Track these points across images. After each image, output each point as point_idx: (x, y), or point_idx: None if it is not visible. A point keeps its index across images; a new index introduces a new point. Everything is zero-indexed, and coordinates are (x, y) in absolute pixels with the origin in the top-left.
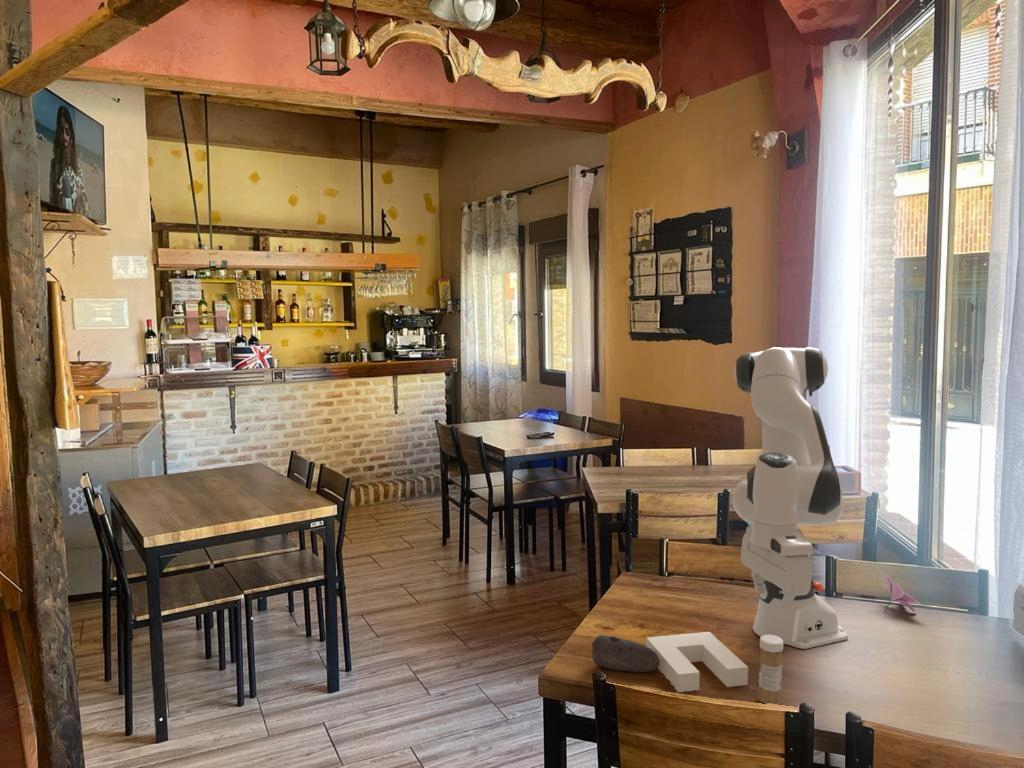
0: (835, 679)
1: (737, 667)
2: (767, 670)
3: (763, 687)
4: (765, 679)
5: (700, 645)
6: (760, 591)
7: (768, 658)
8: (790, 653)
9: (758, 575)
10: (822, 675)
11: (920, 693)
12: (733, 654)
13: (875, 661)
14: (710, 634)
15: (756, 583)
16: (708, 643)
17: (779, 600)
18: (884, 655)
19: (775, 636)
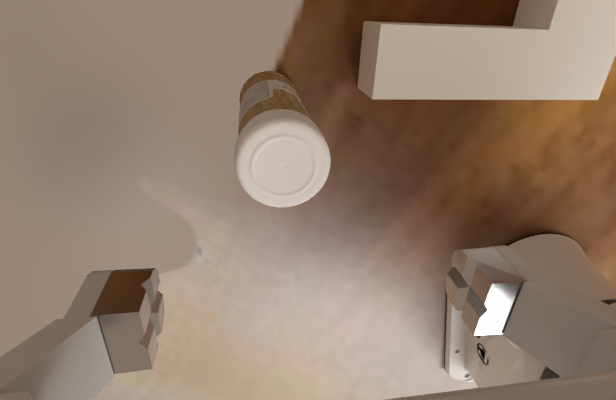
0: (323, 286)
1: (380, 63)
2: (249, 102)
3: (258, 82)
4: (253, 91)
5: (549, 22)
6: (459, 269)
7: (250, 116)
8: (446, 258)
9: (588, 358)
10: (344, 272)
11: (242, 383)
12: (453, 96)
13: (361, 373)
14: (583, 93)
15: (526, 289)
16: (543, 55)
17: (141, 309)
18: (374, 392)
19: (300, 192)
